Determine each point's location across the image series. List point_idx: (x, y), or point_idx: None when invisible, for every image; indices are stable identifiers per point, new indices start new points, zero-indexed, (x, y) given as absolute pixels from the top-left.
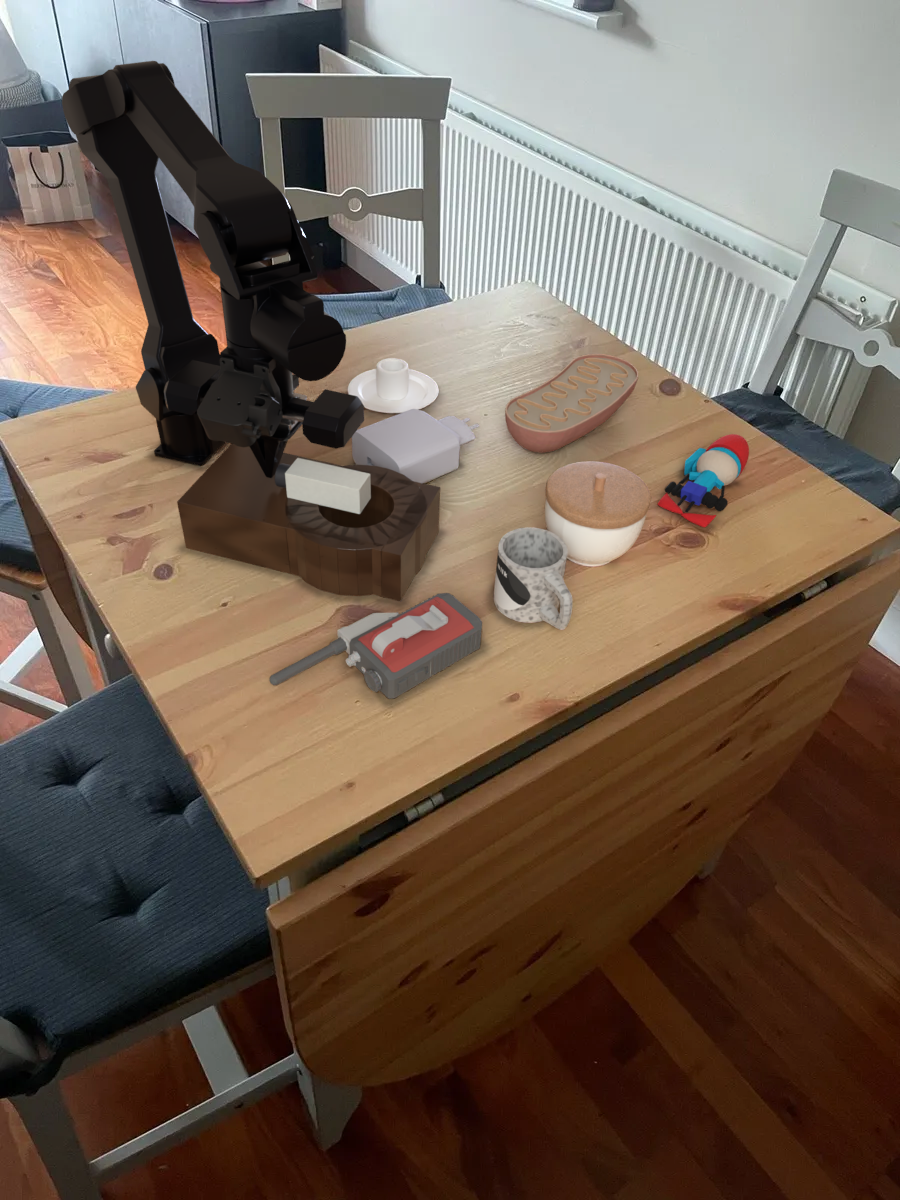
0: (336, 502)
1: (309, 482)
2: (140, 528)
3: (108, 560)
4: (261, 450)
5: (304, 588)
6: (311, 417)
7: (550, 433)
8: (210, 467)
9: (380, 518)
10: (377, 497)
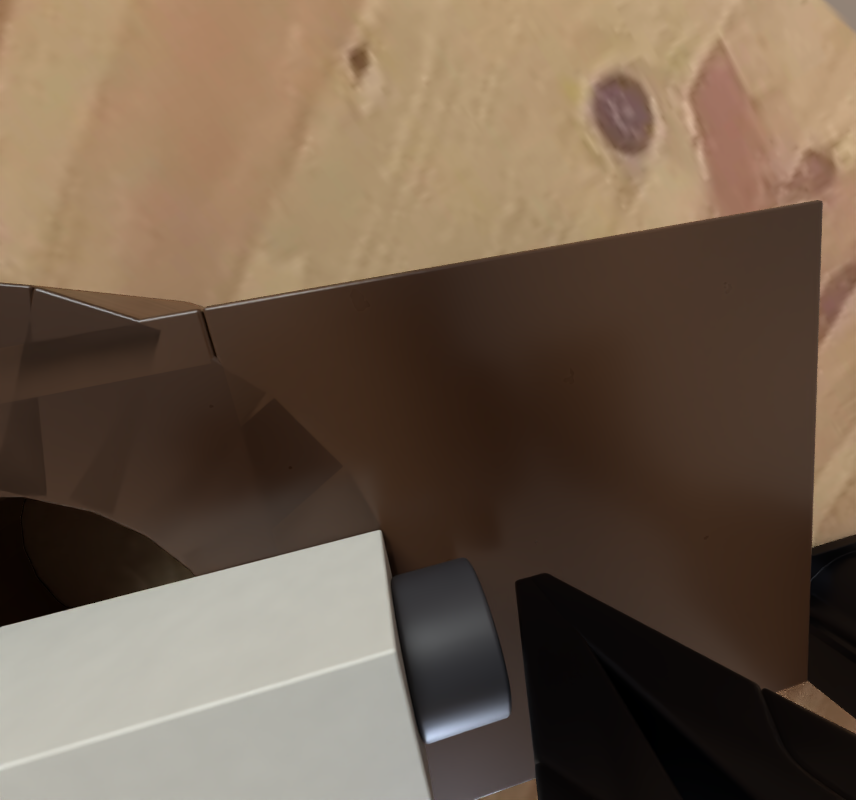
0: (37, 643)
1: (181, 683)
2: None
3: (788, 80)
4: (704, 762)
5: (180, 276)
6: None
7: None
8: (808, 499)
9: None
10: None
